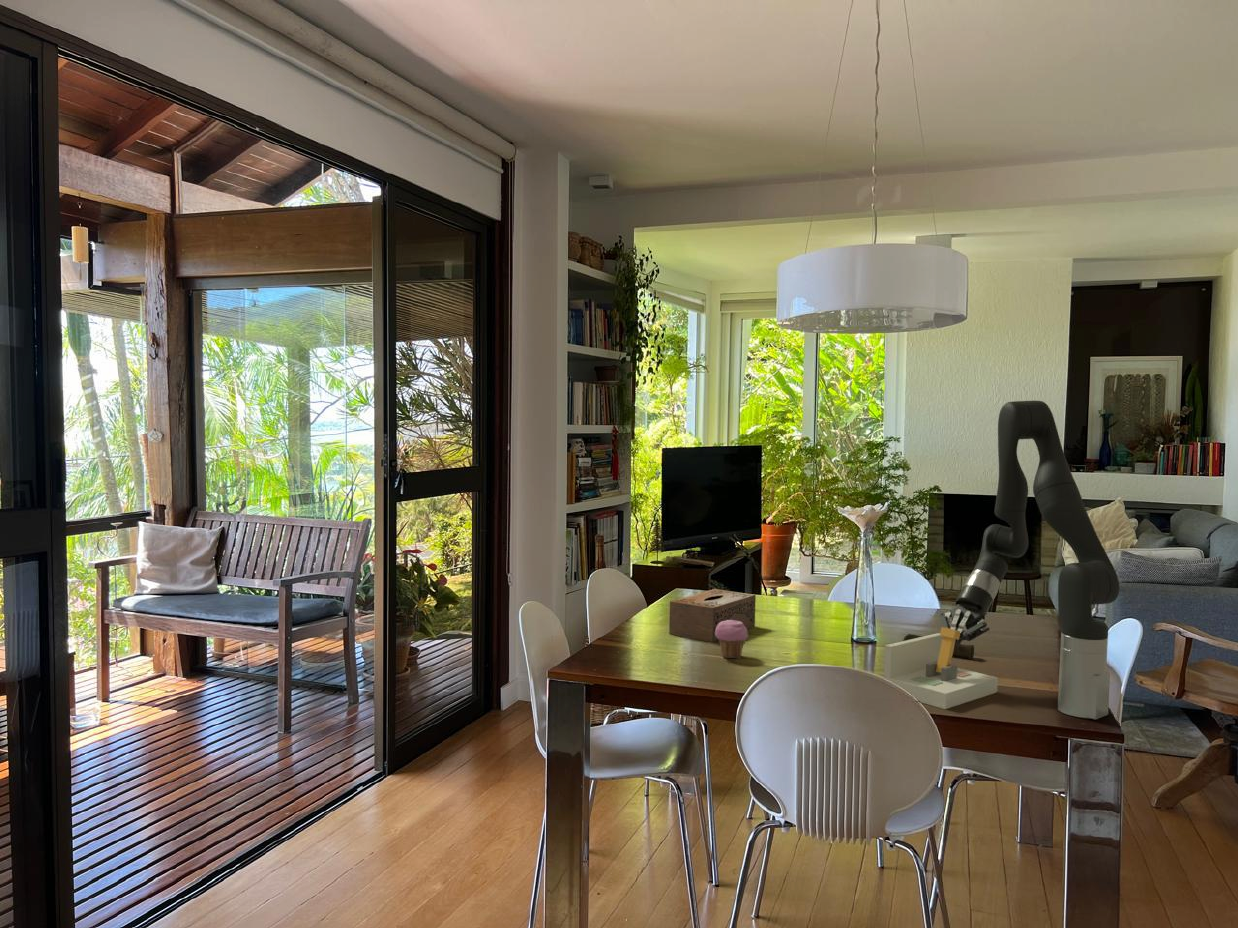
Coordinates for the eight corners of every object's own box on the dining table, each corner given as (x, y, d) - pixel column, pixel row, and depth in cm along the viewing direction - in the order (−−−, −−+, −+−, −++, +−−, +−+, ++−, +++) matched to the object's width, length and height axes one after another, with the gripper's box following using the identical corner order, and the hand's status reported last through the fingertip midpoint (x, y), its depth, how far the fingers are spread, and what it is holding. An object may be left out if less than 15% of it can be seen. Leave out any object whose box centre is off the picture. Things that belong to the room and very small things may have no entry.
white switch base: (936, 676, 231) (938, 632, 230) (997, 692, 219) (999, 646, 218) (883, 691, 217) (885, 645, 217) (945, 709, 205) (947, 660, 204)
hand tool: (975, 658, 251) (975, 641, 250) (971, 661, 247) (972, 644, 247) (905, 647, 261) (905, 631, 261) (900, 650, 258) (901, 633, 258)
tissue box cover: (711, 642, 262) (712, 608, 262) (669, 635, 271) (669, 601, 270) (754, 627, 283) (755, 594, 283) (713, 620, 292) (714, 588, 291)
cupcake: (749, 661, 242) (750, 623, 241) (716, 661, 242) (717, 623, 241) (744, 652, 251) (745, 616, 250) (712, 652, 251) (713, 615, 250)
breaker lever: (937, 671, 220) (946, 628, 221) (951, 675, 217) (960, 631, 219) (932, 670, 218) (941, 626, 220) (946, 673, 216) (955, 629, 217)
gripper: (948, 579, 230) (918, 636, 223) (998, 588, 219) (968, 648, 213) (959, 597, 233) (930, 653, 227) (1009, 606, 223) (980, 666, 217)
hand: (948, 650), depth 220 cm, fingers closed
